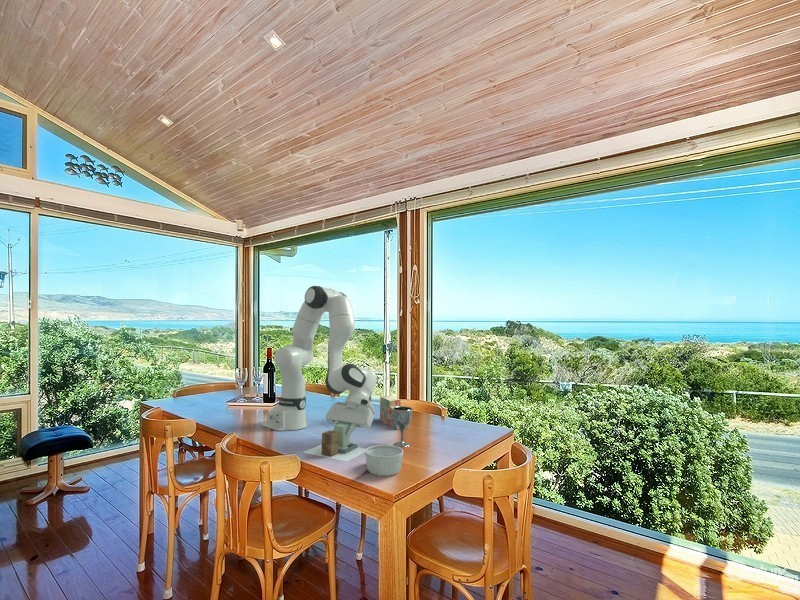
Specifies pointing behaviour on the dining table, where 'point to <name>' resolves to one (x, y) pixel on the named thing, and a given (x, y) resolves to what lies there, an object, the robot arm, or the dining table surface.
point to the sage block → (342, 434)
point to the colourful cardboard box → (389, 410)
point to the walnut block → (330, 443)
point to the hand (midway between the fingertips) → (340, 433)
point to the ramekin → (383, 459)
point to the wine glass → (402, 421)
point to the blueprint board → (340, 452)
